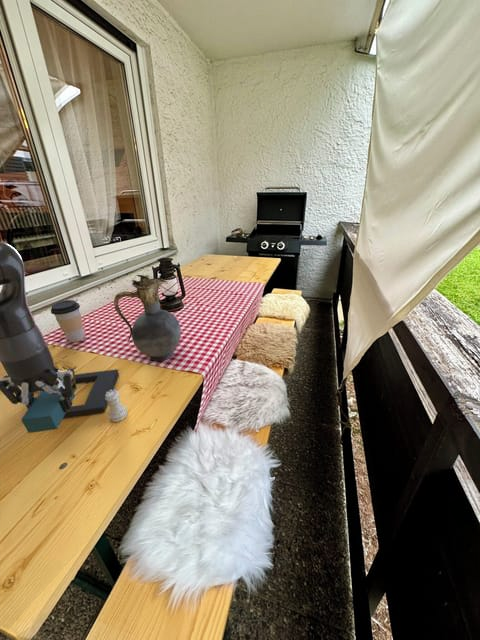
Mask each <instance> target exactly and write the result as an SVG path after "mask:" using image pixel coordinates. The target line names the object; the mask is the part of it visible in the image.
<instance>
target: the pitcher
mask: <svg viewBox="0 0 480 640" xmlns="http://www.w3.org/2000/svg"><path fill="white" fill-rule="evenodd" d="M135 276H137V277H139V280H138V281H137V280H136V279H132V280H131V285H132V287H134V288H135V289H136V291H127V290H125V291H124V290H123V291H120V292H118V293H116V295H115V296H114V299H113V304H114V305H113V306H114V310H115V311H116V313H117V314H118V316H119V317H120V319H121V320H123V321H124V323H126V325H127V326H128V328H129V332H130V333H129V336H128V339H127V343H129V342H130V340H131V339H132V342H133V345H134V346H135V348H136V349H137V350H138V351H139V352H140V353H141V354H142V355H145V356H149V358H150V359H151V360H152V361H155V362H162V361H166V360H168V359H170V358H172V356H173V355H174V350H176V349H177V347H178V346H179V344H180V341H181V337H182V329H181V328H182V327H181V324H180V322H179V320H178V318H177V317H176V315H174V314H173V313H172V312H170V311H167V310H166V309H161V304H160V296H159V295H160V294H159V289H160V287H161V286H162V285H163V284H165V285H166V284H169V281H167V280H166V279H163V278H161V277H154V278H151V276H150V275H149V274H145V275H143V274H135ZM125 297H127V298H137V299H139V300H140V302H141V304H142V305H143V310H144V311H143V313H140V315H139V316H138V317H137V318H136V319H135V320H134V322H133V325H131V322H129V321H128V319H127V318H126V317H125V316H124V314H123V313H122V310H121V309H120V306H119V300H120V299H122V298H125ZM131 337H132V338H131Z"/></svg>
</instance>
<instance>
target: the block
mask: <svg viewBox="0 0 480 640" xmlns="http://www.w3.org/2000/svg"><path fill="white" fill-rule="evenodd" d="M63 386H64V384H63ZM53 387H54V385H53V386H52V388H53ZM59 392H60V391H59ZM75 397H76V394H75V392H74V393H73V395H72V397H70V398H71V401H72V402H73V401H74V399H75ZM65 414H66V412H63V409H62V407H61V405H60V403H59V400H58V399H57V398H56V397H55V396H54V395H50V394H48V393H47V392H46V391H41V392H39V394H38V395H37V396H36V399H35V401H34V402H33V404H32V405H31V406H30V408H29V409H27V410H26V412H25V413H24V414H23V416H22V417H21V419H20V422H22V424H23V426H24V428H25V429H26V431H27V433H28V434H33V433H38V432H46V431H53V430H57V429H58V428H59V427H60V425H61V423H62V421H63V419H64V418H63V417H64V415H65Z"/></svg>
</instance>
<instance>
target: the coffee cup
mask: <svg viewBox="0 0 480 640" xmlns="http://www.w3.org/2000/svg"><path fill="white" fill-rule="evenodd" d="M80 307H81V305H80V303H79V302H77V301H76V300H74V299H67V300H61V301H58V302H56V303H53V304H52V305H51V308H50V313H51V314H52V315H54V317H55V320H56V322H57V324H58V325H59V327H60V329H61V331H62V332H63V334H64V335H65V337H66V339H67V341H68V342H69V343H77V342H80V341H82V340H84V339H85V338H86V335H85V329H84V323H83V318H82V313H81V311H80Z"/></svg>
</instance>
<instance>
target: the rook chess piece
mask: <svg viewBox="0 0 480 640" xmlns="http://www.w3.org/2000/svg"><path fill="white" fill-rule="evenodd" d="M119 396H120V392H119V391H118V390H116V389H113V391H112V390H110V392H107V394H106V396H105V399H106V400H107V401H108V405H109V410H108V419H109V421H110V422H114V423H118V422H121V421H122V420H125V418H126V417H127V415H128V409H127V407H126V406H125V405H123V404H122V403H121V400H120V397H119Z"/></svg>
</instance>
